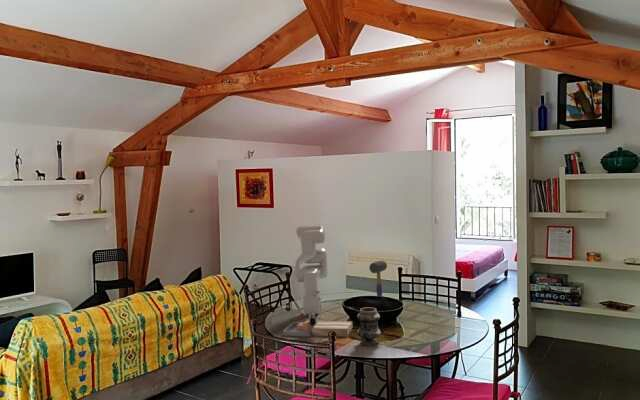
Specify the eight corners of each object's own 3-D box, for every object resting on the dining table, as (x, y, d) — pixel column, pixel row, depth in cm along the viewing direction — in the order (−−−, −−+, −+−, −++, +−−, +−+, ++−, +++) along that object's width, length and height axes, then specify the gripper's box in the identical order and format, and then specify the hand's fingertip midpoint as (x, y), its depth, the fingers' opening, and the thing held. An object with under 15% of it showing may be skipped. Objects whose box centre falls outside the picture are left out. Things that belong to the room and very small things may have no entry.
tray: (293, 326, 303) (293, 321, 303) (319, 326, 299) (318, 322, 299) (282, 335, 284) (282, 331, 284) (310, 336, 280) (309, 332, 280)
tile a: (309, 322, 296) (310, 327, 296) (299, 322, 297) (300, 327, 297) (306, 325, 290) (307, 330, 290) (296, 325, 292) (297, 330, 292)
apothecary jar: (378, 347, 255) (376, 312, 255) (355, 346, 259) (353, 311, 259) (383, 340, 267) (381, 306, 266) (361, 339, 271) (359, 305, 270)
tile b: (313, 330, 289) (308, 330, 290) (311, 320, 289) (307, 320, 290) (308, 333, 284) (303, 333, 285) (307, 323, 284) (302, 323, 285)
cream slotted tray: (319, 327, 296) (318, 320, 296) (352, 328, 291) (352, 321, 291) (312, 335, 282) (311, 328, 282) (347, 336, 277) (347, 329, 277)
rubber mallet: (379, 308, 335) (377, 263, 334) (370, 306, 339) (368, 262, 338) (389, 303, 344) (387, 260, 343) (380, 302, 349) (378, 259, 348)
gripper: (325, 291, 287) (327, 323, 287) (300, 291, 291) (302, 323, 291) (322, 294, 280) (324, 327, 280) (296, 294, 284) (298, 326, 284)
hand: (313, 325), depth 286 cm, fingers closed
